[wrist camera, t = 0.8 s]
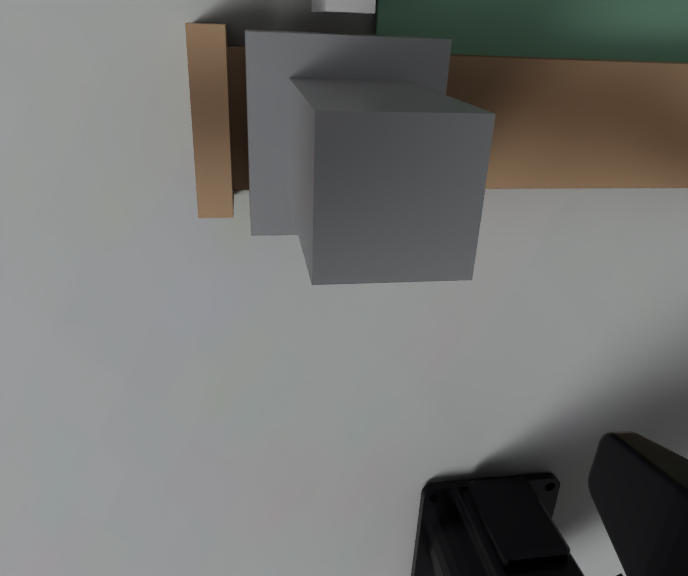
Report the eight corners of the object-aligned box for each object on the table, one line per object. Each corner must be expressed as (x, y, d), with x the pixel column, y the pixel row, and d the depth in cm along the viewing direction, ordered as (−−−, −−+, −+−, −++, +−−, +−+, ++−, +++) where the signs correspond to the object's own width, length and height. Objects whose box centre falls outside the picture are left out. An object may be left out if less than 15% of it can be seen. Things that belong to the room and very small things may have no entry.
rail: (801, 192, 23) (859, 210, 21) (203, 195, 19) (198, 218, 17) (854, 50, 21) (925, 53, 19) (192, 22, 17) (185, 23, 15)
